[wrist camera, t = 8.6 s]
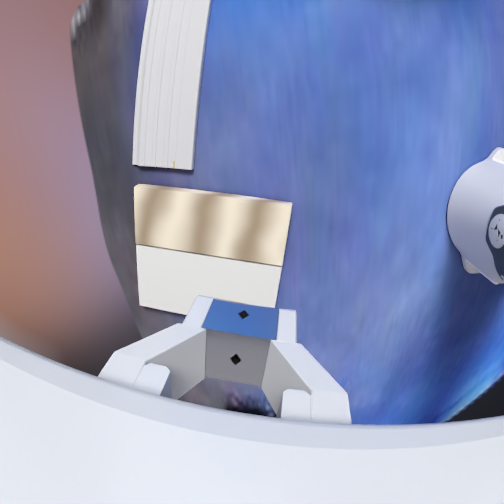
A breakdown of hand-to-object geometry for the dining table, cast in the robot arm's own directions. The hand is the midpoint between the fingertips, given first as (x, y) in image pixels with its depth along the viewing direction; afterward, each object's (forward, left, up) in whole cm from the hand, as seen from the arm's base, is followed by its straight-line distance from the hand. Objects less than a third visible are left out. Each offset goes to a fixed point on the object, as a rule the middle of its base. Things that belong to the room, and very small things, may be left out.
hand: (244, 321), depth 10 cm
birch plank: (+8, +8, -31) cm, 33 cm away
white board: (+8, +17, -31) cm, 37 cm away
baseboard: (+16, -14, -32) cm, 38 cm away
